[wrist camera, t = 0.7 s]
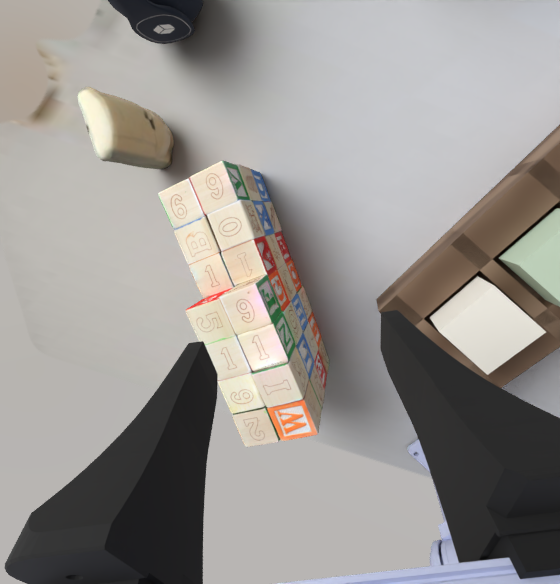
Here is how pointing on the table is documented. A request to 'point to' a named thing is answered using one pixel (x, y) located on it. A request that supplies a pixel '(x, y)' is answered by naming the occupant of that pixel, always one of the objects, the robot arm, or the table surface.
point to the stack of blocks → (249, 303)
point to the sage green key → (539, 258)
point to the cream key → (485, 325)
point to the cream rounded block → (125, 131)
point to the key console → (488, 260)
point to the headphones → (160, 18)
